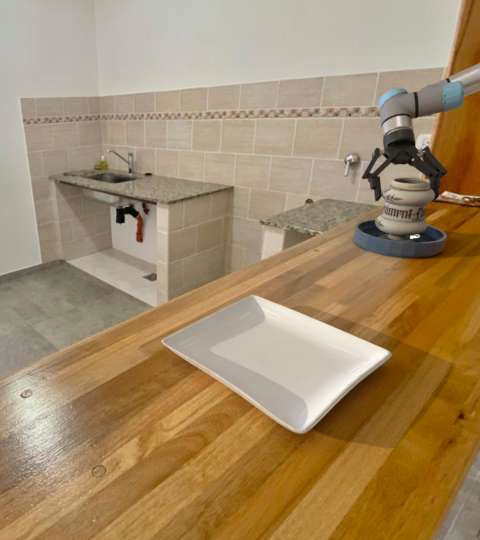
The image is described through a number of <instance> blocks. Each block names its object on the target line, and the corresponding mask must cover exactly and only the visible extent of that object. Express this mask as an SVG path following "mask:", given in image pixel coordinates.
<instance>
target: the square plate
mask: <svg viewBox="0 0 480 540" xmlns="http://www.w3.org/2000/svg"><path fill="white" fill-rule="evenodd" d="M161 343H162V344H163V345H164V346H165V347H167V348H168V349H169V350H170V351H172V352H173V353H174V354H176V355H177V356H178V357H180V358H181V359H183V360H185V361H186V362H187V363H189V364H191V365H192V366H194V367H195V368H197V369H199V370H201V371H202V372H204V373H205V374H207V375H208V376H210V377H211V378H213V379H215V380H216V381H217V382H219V383H220V384H223V386H225V387H226V388H229V389H230V390H231V391H232V392H234V393H236V394H237V395H238V396H240V397H241V398H243V399H244V400H245V401H247V403H249V404H251V405H253V406H254V407H255V408H257V410H259V411H260V412H261V413H263V414H265V416H267V417H269V418H270V419H271V420H273V421H275V422H276V423H277V424H279V425H280V426H282V427H284V428H285V429H287V430H289V431H291V432H293V433H295V434H299V435H305V434H307V433H308V432H310V431H311V430H312V429H313V428H314V427H315V426H317V424H319V423H320V421H321V420H322V419H324V417H326V415H327V414H328V413H329V412H330V411H331V410H332V409H333V408H334V407H335V406H336V405H337V404H338V403H339V402H340V401H341V400H342V399H343V398H344V397H345V396H346V395H348V394H349V392H350V391H352V390H353V389H354V388H355V387H356V386H357V385H358V384H360V383H361V382H362V381H363V380H365V379H366V378H367V377H368V376H370V375H371V374H372V373H374V372H375V371H376V370H377V369H379V368H380V367H382V366H383V365H384V364H385V363H386V362H388V361H389V360H390V359H391V357H393V353H392V352H391V350H388V349H386V348H384V347H382V346H379V345H376V344H375V343H372V342H370V341H367V340H366V339H363V338H360V337H358V336H356V335H354V334H351V333H349V332H346V331H344V330H342V329H339V328H338V327H335V326H333V325H331V324H328V323H326V322H324V321H321V320H319V319H317V318H314V317H312V316H309V315H306V314H305V313H303V312H299V311H298V310H295V309H292V308H290V307H287V306H284V305H283V304H279V303H277V302H274V301H273V300H272V301H271V300H269V299H267V298H264V297H261V296H259V295H257V294H256V295H255V294H250V295H247V296H245V297H244V298H242V299H240V300H238V301H236V302H234V303H231V304H229V305H227V306H225V307H223V308H222V309H220V310H217V311H215V312H213V313H211V314H209V315H207V316H205V317H203V318H201V319H199V320H196V321H195V322H193V323H191V324H189V325H188V326H185V327H183V328H181V329H179V330H178V331H176V332H174V333H171V334H170V335H168V336H166V337H164V338H163V339H161Z"/></svg>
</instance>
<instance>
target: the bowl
mask: <svg viewBox="0 0 480 540" xmlns="http://www.w3.org/2000/svg"><path fill="white" fill-rule="evenodd" d="M376 219H377V218H375V219H367V220H363V221H359V222H357V223H356V224H355V227H354V231H353V235H352V239H353V241H354V242H355V243H356V244H357V246H359V247H361V248H363V249H364V250H367V251H369V252H371V253H372V252H373V253H375V254H378V255H383V256H387V257H388V256H389V257H395V258H405V259H406V258H407V259H410V258H411V259H419V258H421V259H422V258H429V257H433V256H435V255H438V254H440V253H442V252H443V250H444V248H445V245H446V241H447V238H448V235H447V233H446V232H445V231H443V230H442V229H439V228H438V227H435V226H432V225H429V224H427V228H426V230H425V231H423V232H421V233H419V234H417V235H412V236H407V237H409V238H411V239H413V240H414V241H416V243H415V242H400V241H392V240H387V239H382V238H378V236H380V235H386V234H388V233H385V232H383V231H381V230H380V229H379V228H378V227H377V226H376V224H375V221H376Z"/></svg>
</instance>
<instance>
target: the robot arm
mask: <svg viewBox="0 0 480 540" xmlns="http://www.w3.org/2000/svg"><path fill="white" fill-rule="evenodd" d="M477 92H480V62H479V63H477V64H475V65H472V66H470V67H468V68H466V69H464V70H461V71H459V72H457V73H454V74H451V75H450V76H448V77H446V78H444V79H441V80H439V81H437V82H434V83H432V84H428V85H425V86H424V87H422V88H421V89H420V90H418V91H412V92H409V91H408V90H407V89H406V88H403V87H396V88H392V89H389V90H387V91H386V92H384V93H383V94H382V96H381V97H379V100H378V109H379V111H378V112H379V119H380V127H381V136H382V145H383V149H380V147H376V148H375V149H374V150H373V152H372V154H371V160H370V161H369V164H368V165H367V167H366V169H365V170H364V172H363V173H362V176H361V179H362V180H367V182H368V183H369V188H370V190H371V191H372V190H373V194H374V201H375V202H379V201H380V200H381V198H383V197H382V192H383V191H382V184H381V183H382V182H381V176H380V174H381V173H382V172H383V171H385V169H386V168H387V167H389V166H390V165H391V164H393V165H394V166H397V165H402V166H403V165H405V166H406V165H408V166H410V167H413V168H414V169H416V170H417V171H419V172H420V173H421V174H423V175H424V176H425V177H427V179H428V180H430V189H432V190H433V191H434V193H435V198H434V199H433V200H432V201H431V202H435V201H437V199H438V198H439V197H440V191H439V189H440V188H441V186H442V183H441V179H443V178H444V177H445V176H446V175H447V174H448V170H447V169H446V168H445V166H443V164H442V163H441V162H440V161H439V160H438V159H437V157H436V156H435V155H434V154H433V153H432V152H431V148H430V147H429V146H427V145H426V146H425V147H423V148H417V147H416V137H415V132H414V123H413V120H414V119H418V118H422V117H426V116H430V115H436V114H440V113H444V112H449V111H452V110H455V109H459V108H461V107H462V106H463V104H464V102H465V97H467V96H470V95H472V94H475V93H477ZM381 156H383V158H385V160H384V161H383V162H382V163H381V164H380V165H379V166H378V167H377V168H376V169H375V170H374V171H373V172H372V169H373V167H374V166H375V165H376V162H377V161H378V159H379V158H381Z"/></svg>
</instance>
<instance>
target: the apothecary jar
mask: <svg viewBox="0 0 480 540" xmlns="http://www.w3.org/2000/svg"><path fill="white" fill-rule="evenodd" d="M381 192H382V197H381V198H383V199H384V205H383V210H382V213H381V214H379V215H378V216H377V217H376V218H375V219H376V221H375V224H376V226H377V227H378V228H379V229H380V230H381V231H383V232H385V233H388V234H386V235H380V236H378V238H382V239H387V240H392V241H400V242H415V243H416V241H414V240H413V239H411V238H409V237H407V236H412V235H417V234H419V233H421V232H423V231H425V230H426V228H427V225H428V222H427V220H426V219H425V215H426V209H427V206H428V204H429V203H431V202H433V201H432V200H433V199H434V198H435V193H434V191H433V190H432V189H430V180H429V179H428V178H424V177H414V176H413V177H410V176H409V177H407V176H405V177H403V176H402V177H396V178H393V179H392V180H391V182H390V183H389V185H388V186H386V187H385V188H384V189H383V190H382V191H381Z"/></svg>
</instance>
